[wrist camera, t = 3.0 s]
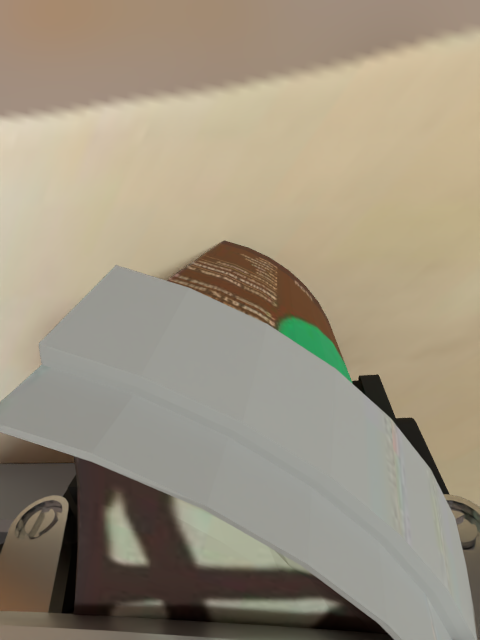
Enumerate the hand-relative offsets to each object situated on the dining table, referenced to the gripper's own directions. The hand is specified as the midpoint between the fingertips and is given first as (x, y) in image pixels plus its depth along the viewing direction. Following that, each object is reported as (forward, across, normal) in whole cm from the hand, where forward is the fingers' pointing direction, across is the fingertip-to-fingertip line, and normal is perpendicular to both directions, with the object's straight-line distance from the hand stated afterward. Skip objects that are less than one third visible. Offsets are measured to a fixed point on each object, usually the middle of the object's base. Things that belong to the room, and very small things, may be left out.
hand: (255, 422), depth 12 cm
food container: (+3, -1, 0) cm, 3 cm away
